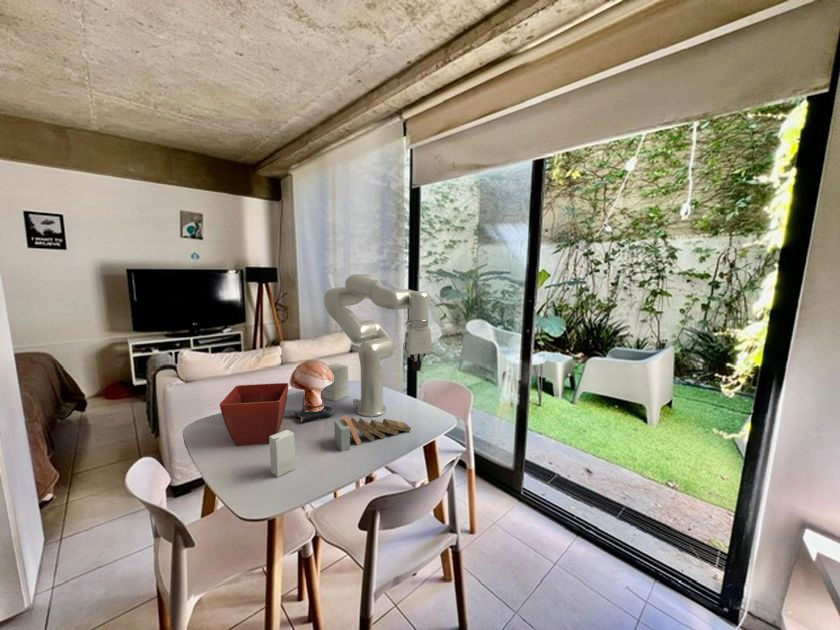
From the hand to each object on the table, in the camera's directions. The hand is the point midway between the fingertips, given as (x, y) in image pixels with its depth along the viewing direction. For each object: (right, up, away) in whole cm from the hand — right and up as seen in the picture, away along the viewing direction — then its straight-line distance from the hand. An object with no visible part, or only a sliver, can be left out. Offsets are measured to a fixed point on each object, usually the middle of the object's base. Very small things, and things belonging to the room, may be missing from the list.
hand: (416, 369), depth 135 cm
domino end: (-22, -24, -10) cm, 34 cm away
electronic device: (-42, -22, +10) cm, 48 cm away
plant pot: (-58, -23, -7) cm, 63 cm away
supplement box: (-40, -18, +32) cm, 54 cm away
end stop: (-26, -25, -12) cm, 38 cm away
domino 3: (-8, -23, -2) cm, 25 cm away
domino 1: (-17, -24, -7) cm, 30 cm away
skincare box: (-41, -27, -28) cm, 57 cm away
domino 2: (-13, -23, -5) cm, 27 cm away
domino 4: (-4, -23, +1) cm, 23 cm away
